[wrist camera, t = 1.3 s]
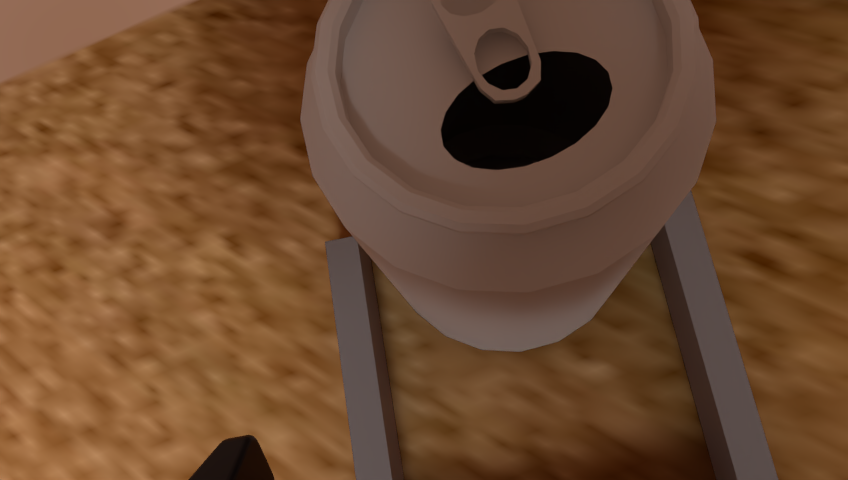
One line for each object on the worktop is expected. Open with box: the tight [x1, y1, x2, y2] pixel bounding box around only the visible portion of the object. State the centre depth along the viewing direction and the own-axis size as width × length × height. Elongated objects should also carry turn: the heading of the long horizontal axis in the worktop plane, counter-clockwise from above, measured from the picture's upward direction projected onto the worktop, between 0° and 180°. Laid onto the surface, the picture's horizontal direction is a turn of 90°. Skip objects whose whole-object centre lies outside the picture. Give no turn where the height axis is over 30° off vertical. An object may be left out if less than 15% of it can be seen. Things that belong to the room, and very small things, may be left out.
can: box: [300, 0, 716, 352], centre depth 16 cm, size 8×8×12 cm
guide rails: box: [325, 190, 778, 480], centre depth 20 cm, size 11×11×2 cm
